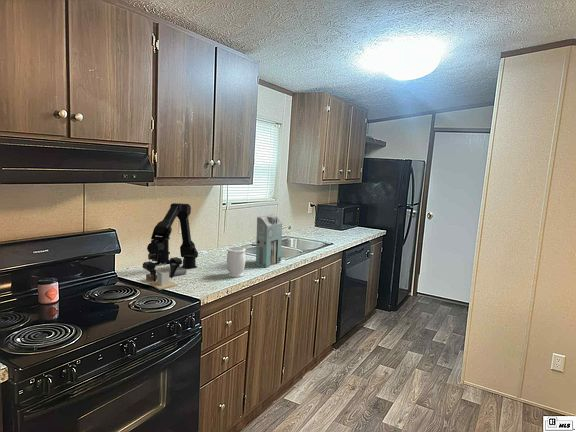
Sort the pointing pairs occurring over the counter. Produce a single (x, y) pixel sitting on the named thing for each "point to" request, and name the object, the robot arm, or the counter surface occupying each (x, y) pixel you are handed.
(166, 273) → the white rectangular block
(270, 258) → the device
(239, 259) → the jar
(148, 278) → the block
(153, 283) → the mat
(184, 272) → the grey rounded rod
